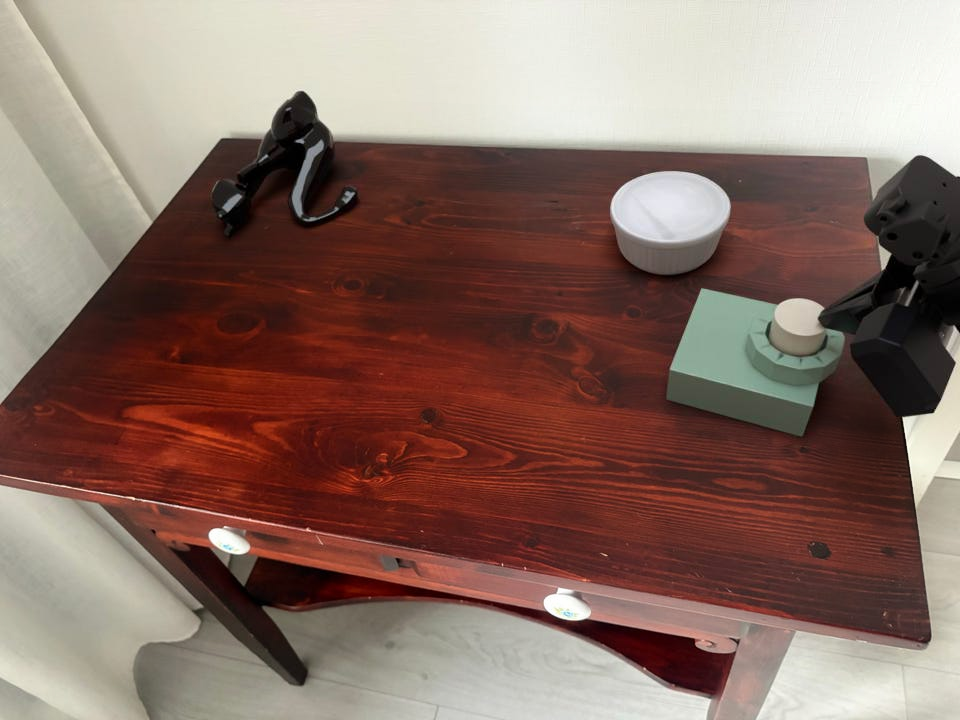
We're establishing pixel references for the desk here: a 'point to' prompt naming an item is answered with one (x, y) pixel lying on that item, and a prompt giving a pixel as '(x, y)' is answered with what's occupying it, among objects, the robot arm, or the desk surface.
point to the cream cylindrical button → (797, 328)
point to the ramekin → (669, 221)
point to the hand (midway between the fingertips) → (821, 320)
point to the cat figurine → (285, 166)
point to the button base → (746, 365)
